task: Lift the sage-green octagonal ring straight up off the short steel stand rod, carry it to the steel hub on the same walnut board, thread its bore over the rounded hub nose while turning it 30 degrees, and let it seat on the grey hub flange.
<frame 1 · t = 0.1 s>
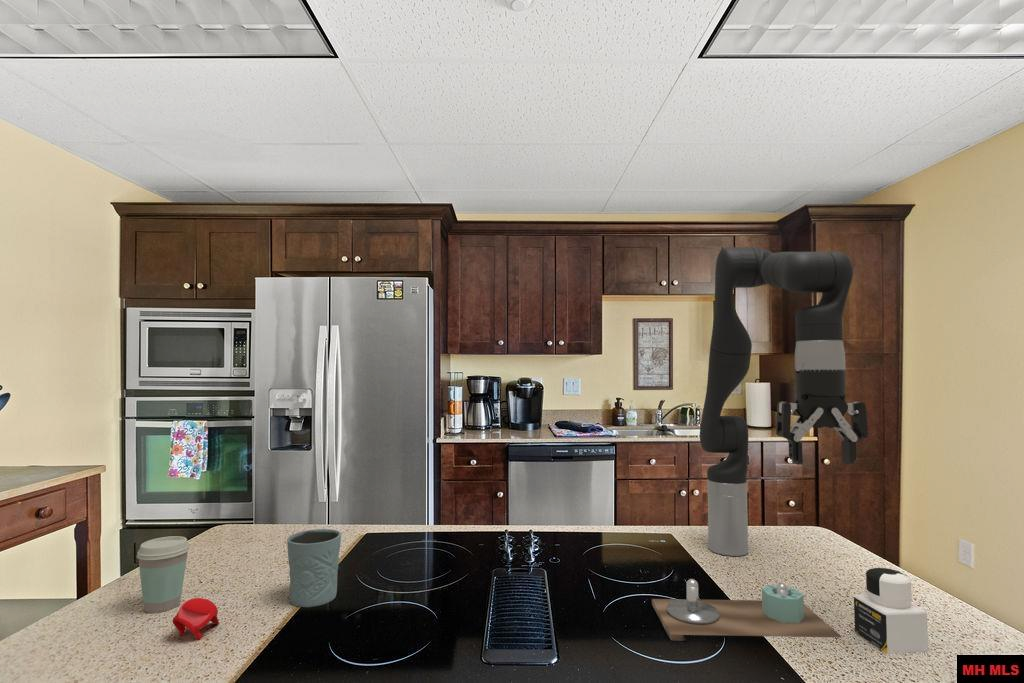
hand: (822, 463, 92), 29 cm above the countertop, tool pointing down, fingers open, 8 cm apart
medicine bottle: (890, 648, 88), on the countertop
embossed green cup: (313, 598, 107), on the countertop
stand rod: (783, 620, 97), resting on walnut board
walnut board: (740, 622, 97), on the countertop
coffee cup: (161, 607, 103), on the countertop
sage ring: (782, 614, 98), point 1 cm above the countertop, touching walnut board
red toy chair: (197, 634, 93), on the countertop
steel hub: (692, 619, 98), resting on walnut board
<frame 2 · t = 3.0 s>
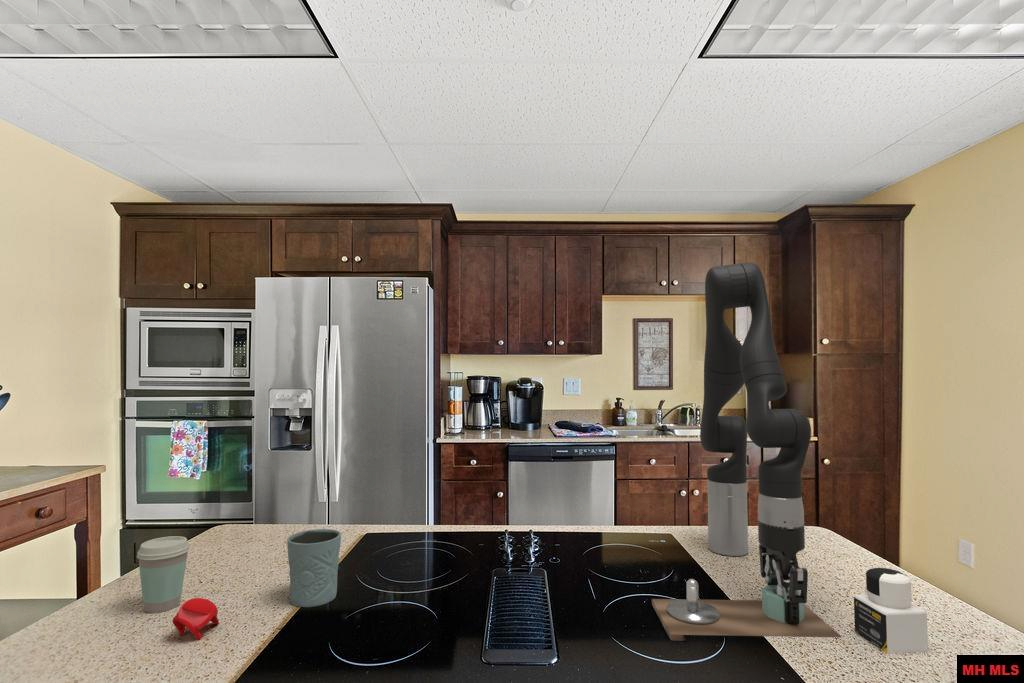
hand: (783, 614, 97), 1 cm above the countertop, tool pointing down, fingers closed on sage ring, 6 cm apart
sage ring: (783, 614, 97), point 1 cm above the countertop, touching gripper
everything else where it was.
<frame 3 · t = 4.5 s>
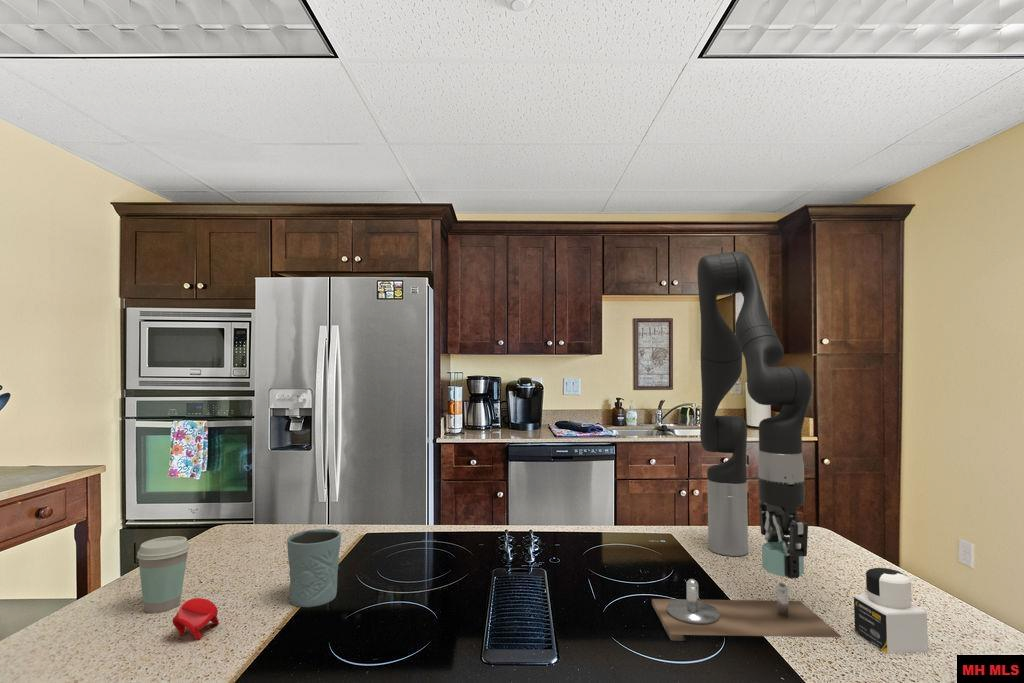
hand: (783, 569, 98), 9 cm above the countertop, tool pointing down, fingers closed on sage ring, 6 cm apart
sage ring: (782, 570, 98), point 9 cm above the countertop, touching gripper
everything else where it was.
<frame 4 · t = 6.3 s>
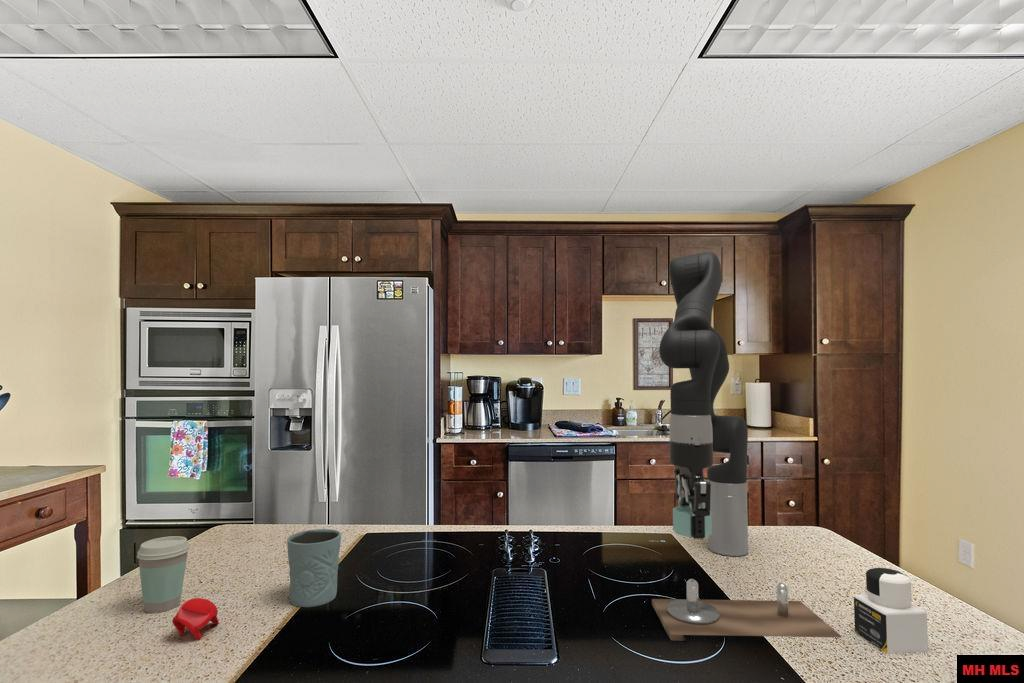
hand: (692, 531, 99), 15 cm above the countertop, tool pointing down, fingers closed on sage ring, 6 cm apart
sage ring: (692, 532, 99), point 15 cm above the countertop, touching gripper
everything else where it was.
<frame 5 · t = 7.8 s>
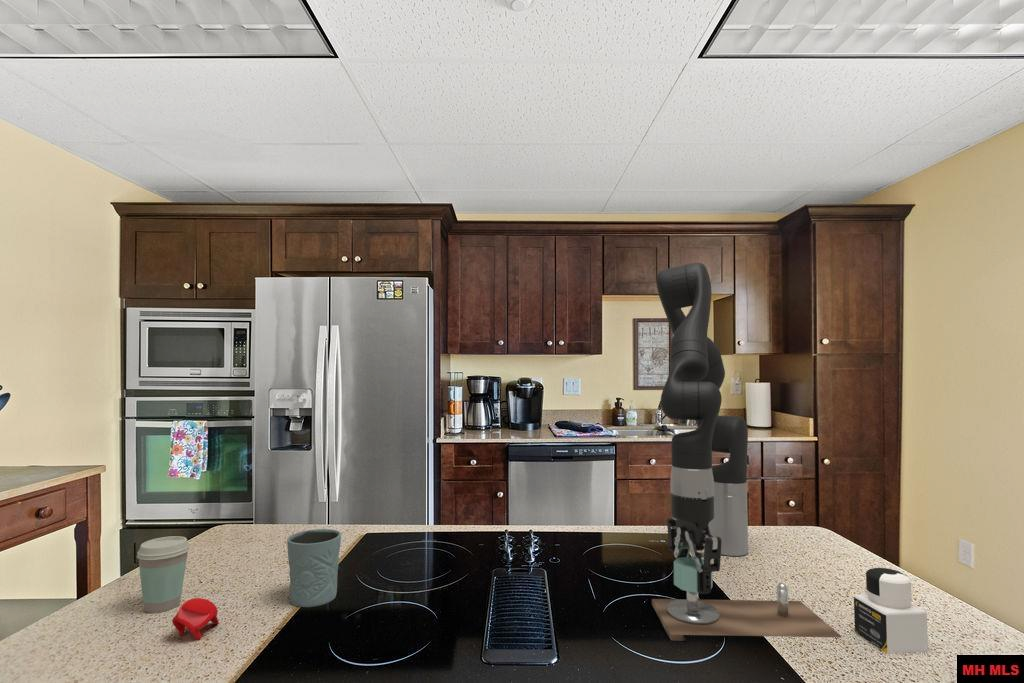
hand: (693, 585, 98), 6 cm above the countertop, tool pointing down, fingers closed on sage ring, 6 cm apart
sage ring: (693, 585, 98), point 6 cm above the countertop, touching gripper
everything else where it was.
when the fingers open (3 cm above the countertop, at t = 9.3 s): sage ring drops 1 cm, resting on steel hub.
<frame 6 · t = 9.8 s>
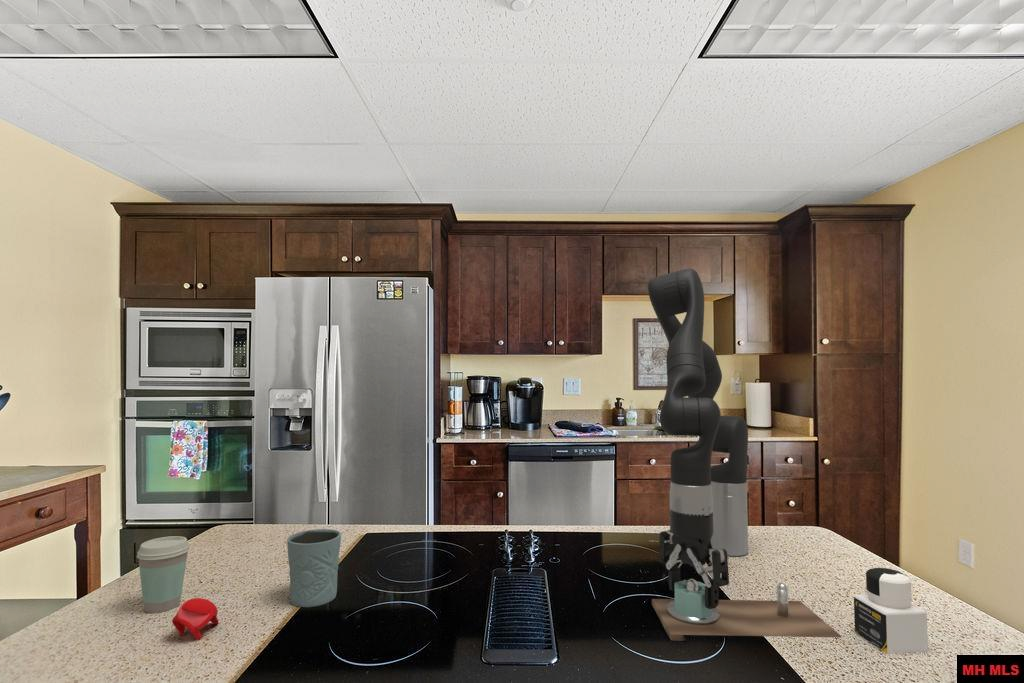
hand: (692, 598, 98), 4 cm above the countertop, tool pointing down, fingers open, 8 cm apart
sage ring: (692, 609, 98), point 2 cm above the countertop, touching steel hub
everything else where it was.
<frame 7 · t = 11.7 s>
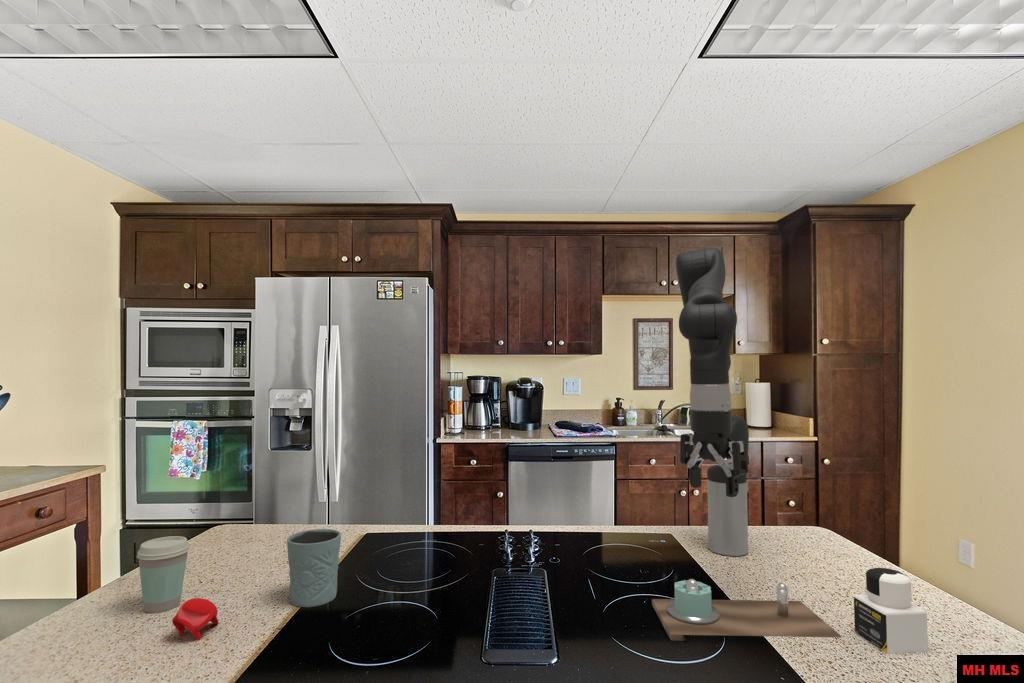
hand: (713, 491, 105), 21 cm above the countertop, tool pointing down, fingers open, 8 cm apart
nothing on the countertop moved.
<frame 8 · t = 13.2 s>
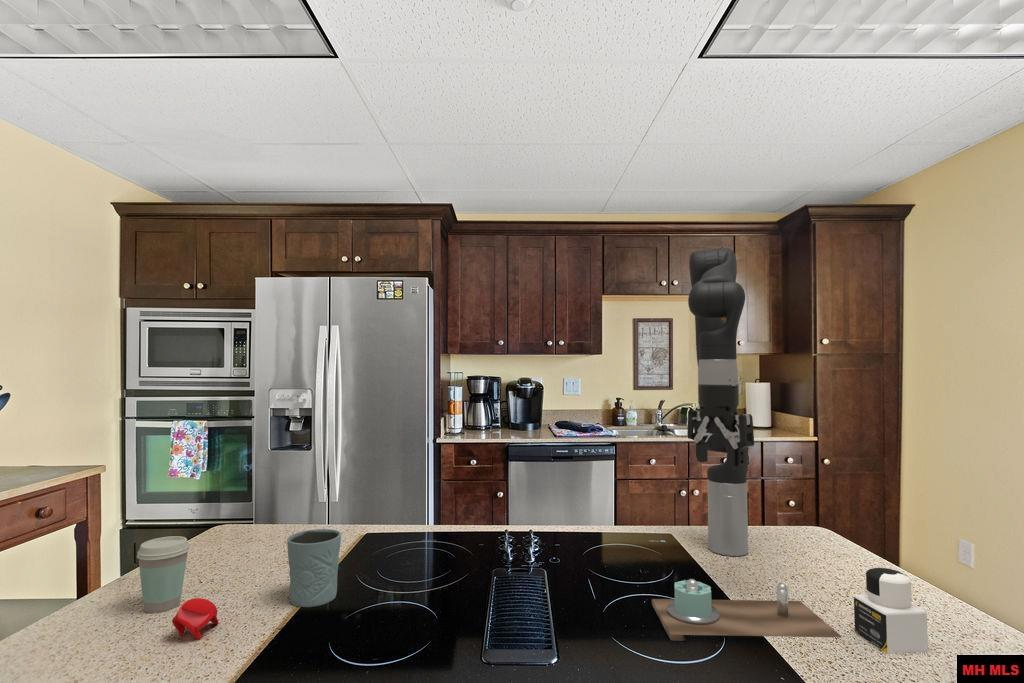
hand: (719, 465, 107), 26 cm above the countertop, tool pointing down, fingers open, 8 cm apart
nothing on the countertop moved.
at the end: sage ring 0.0 cm off-centre on the steel hub, point 1.6 cm above the steel hub's base; the gripper is holding nothing; sage ring tilted 0° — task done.
